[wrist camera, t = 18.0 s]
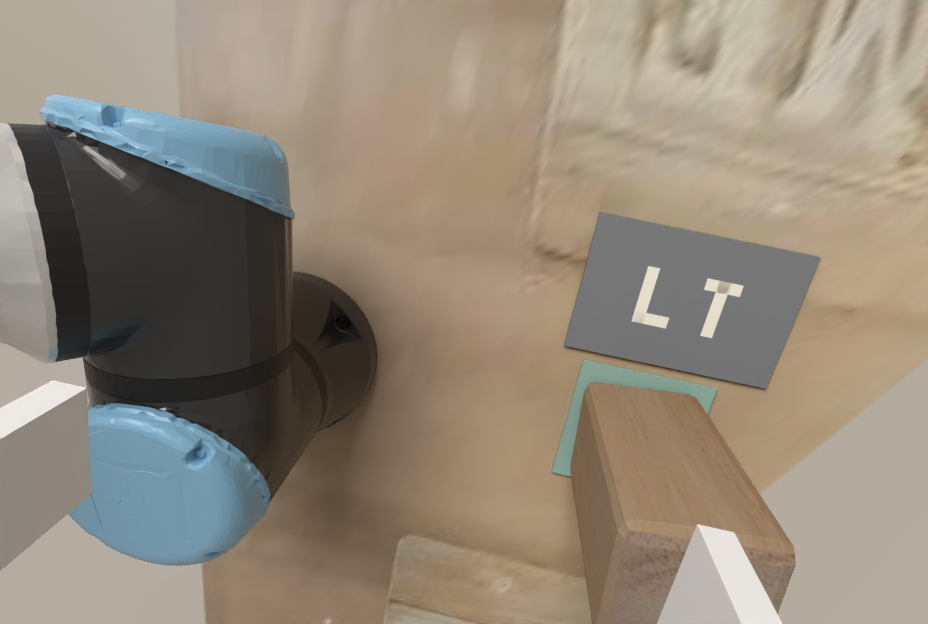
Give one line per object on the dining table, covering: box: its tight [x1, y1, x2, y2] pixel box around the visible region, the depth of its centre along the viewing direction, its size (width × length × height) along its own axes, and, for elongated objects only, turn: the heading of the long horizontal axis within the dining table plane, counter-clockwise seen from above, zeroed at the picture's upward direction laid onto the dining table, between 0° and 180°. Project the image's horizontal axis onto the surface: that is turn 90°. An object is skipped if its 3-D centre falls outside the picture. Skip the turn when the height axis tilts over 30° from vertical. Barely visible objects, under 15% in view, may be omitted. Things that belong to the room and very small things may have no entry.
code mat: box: [564, 212, 820, 389], centre depth 47 cm, size 18×12×1 cm, turn 79°
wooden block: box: [570, 382, 795, 624], centre depth 41 cm, size 10×10×20 cm
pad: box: [552, 359, 717, 476], centre depth 51 cm, size 12×12×1 cm
